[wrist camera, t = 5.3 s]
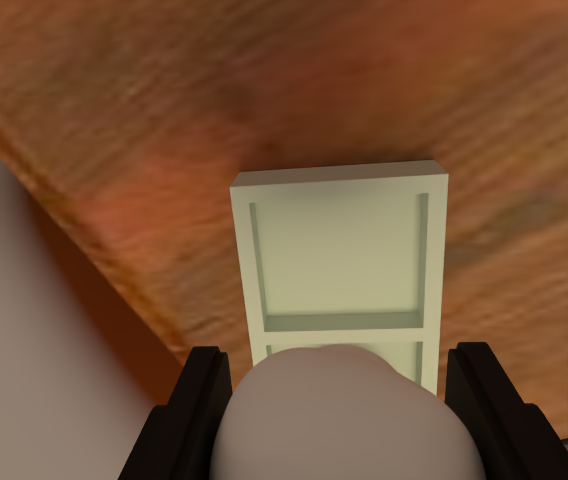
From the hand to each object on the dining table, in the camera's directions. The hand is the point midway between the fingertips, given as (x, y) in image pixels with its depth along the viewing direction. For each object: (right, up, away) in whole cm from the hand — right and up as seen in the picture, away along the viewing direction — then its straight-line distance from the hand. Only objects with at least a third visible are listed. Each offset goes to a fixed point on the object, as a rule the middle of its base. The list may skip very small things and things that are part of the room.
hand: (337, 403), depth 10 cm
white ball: (0, 0, +1) cm, 1 cm away
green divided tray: (+2, 0, +15) cm, 16 cm away
